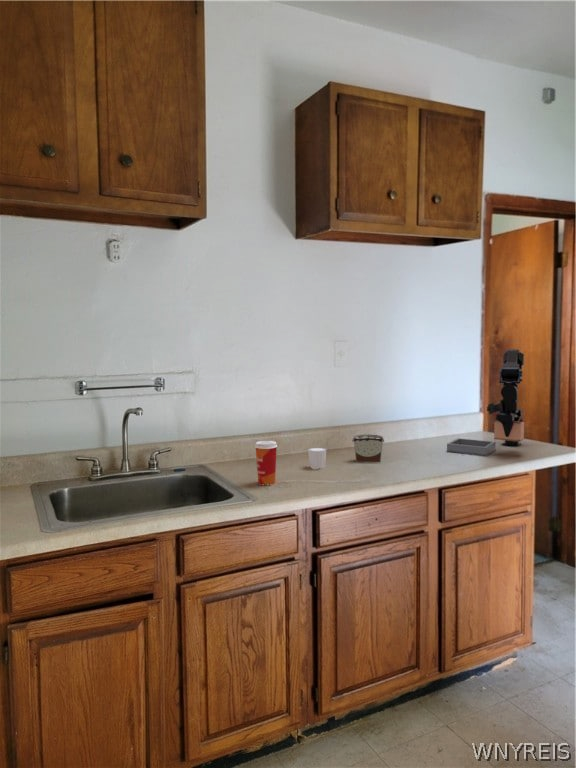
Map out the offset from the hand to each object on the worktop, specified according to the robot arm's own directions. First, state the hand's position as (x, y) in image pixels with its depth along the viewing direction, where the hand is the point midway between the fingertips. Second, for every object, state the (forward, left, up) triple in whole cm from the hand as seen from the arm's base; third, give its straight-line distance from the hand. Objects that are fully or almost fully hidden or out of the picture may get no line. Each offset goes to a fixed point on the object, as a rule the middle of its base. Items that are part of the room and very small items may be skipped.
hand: (509, 435), depth 231 cm
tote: (0, 0, -2) cm, 2 cm away
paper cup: (+86, -58, -8) cm, 104 cm away
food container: (+38, -44, -8) cm, 59 cm away
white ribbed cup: (+58, -55, -8) cm, 80 cm away
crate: (0, -15, -8) cm, 17 cm away
